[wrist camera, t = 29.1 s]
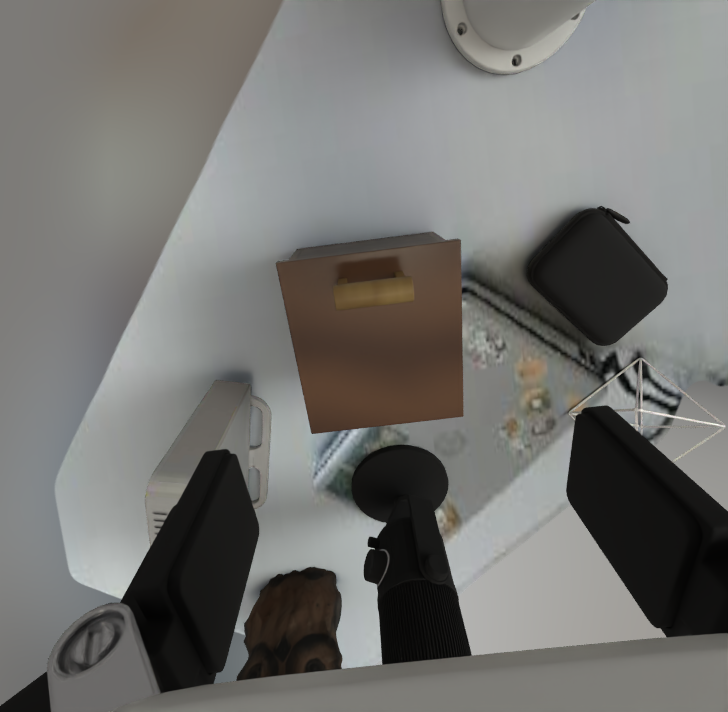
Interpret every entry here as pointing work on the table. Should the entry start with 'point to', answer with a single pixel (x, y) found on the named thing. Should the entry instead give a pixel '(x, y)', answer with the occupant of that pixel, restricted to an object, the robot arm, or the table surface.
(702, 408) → the geometric polyhedron
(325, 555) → the table surface
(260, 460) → the network device
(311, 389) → the lid
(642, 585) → the robot arm
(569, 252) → the carrying case
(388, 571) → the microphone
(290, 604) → the owl
